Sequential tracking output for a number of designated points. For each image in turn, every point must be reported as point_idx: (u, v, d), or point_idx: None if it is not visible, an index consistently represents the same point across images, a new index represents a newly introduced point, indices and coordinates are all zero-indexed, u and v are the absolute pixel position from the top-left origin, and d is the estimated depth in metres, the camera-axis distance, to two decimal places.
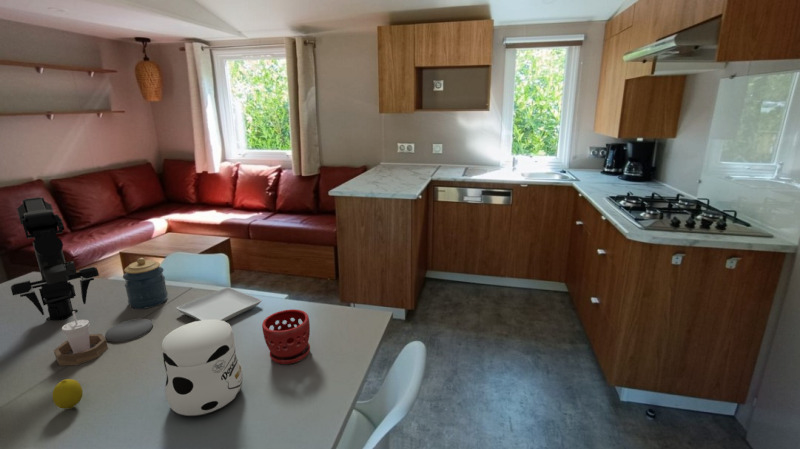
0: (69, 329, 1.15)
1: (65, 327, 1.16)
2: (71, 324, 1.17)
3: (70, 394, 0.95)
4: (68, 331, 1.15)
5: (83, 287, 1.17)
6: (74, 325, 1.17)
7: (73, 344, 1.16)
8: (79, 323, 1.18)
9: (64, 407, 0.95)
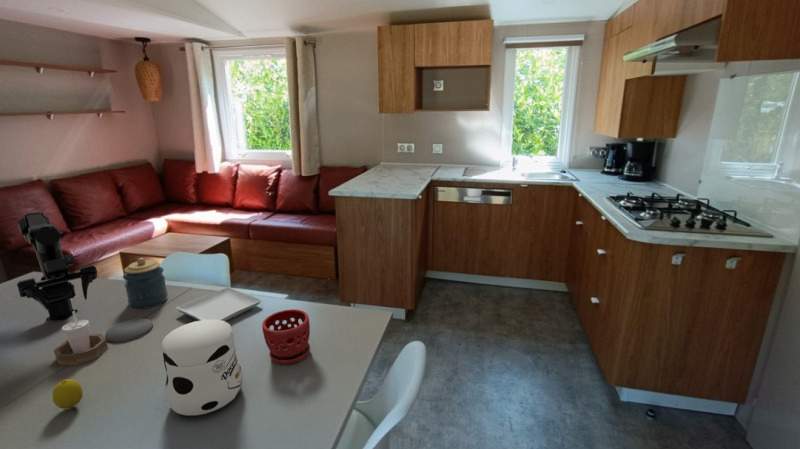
0: (69, 329, 1.15)
1: (65, 327, 1.16)
2: (71, 324, 1.17)
3: (70, 394, 0.95)
4: (68, 331, 1.15)
5: (83, 282, 1.26)
6: (74, 325, 1.17)
7: (73, 344, 1.16)
8: (79, 323, 1.18)
9: (64, 407, 0.95)
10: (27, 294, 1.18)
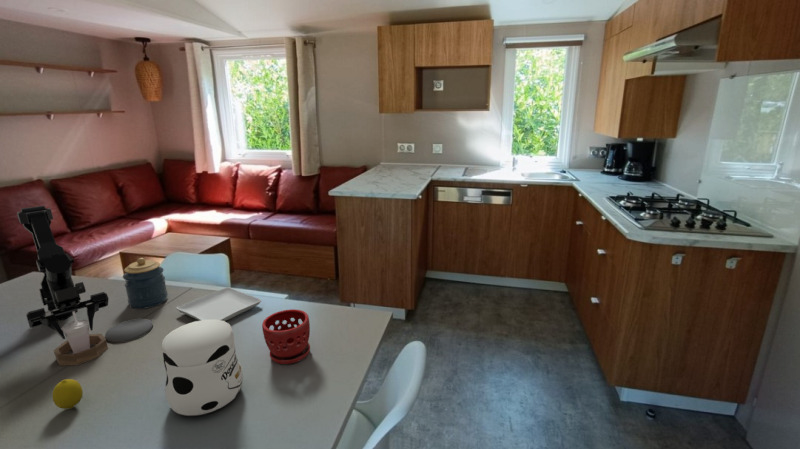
0: (69, 329, 1.15)
1: (65, 327, 1.16)
2: (71, 324, 1.17)
3: (70, 394, 0.95)
4: (68, 331, 1.15)
5: (89, 312, 1.20)
6: (74, 325, 1.17)
7: (73, 344, 1.16)
8: (79, 323, 1.18)
9: (64, 407, 0.95)
10: (43, 323, 1.15)
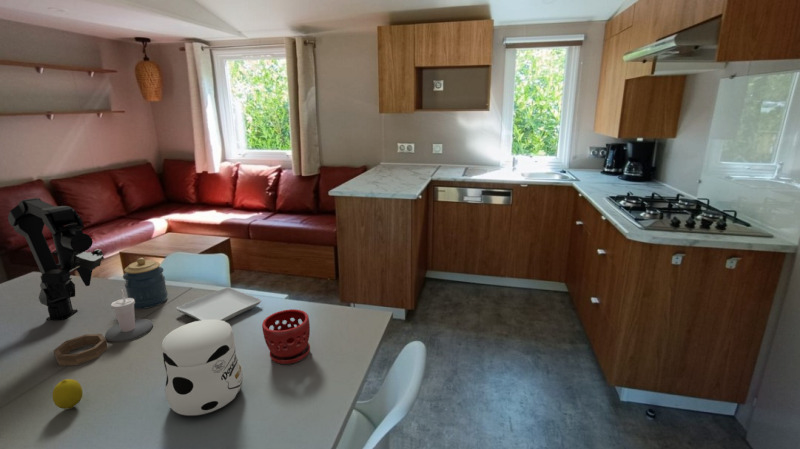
0: (122, 305, 1.27)
1: (115, 305, 1.27)
2: (118, 302, 1.28)
3: (70, 394, 0.95)
4: (122, 307, 1.27)
5: (90, 271, 1.35)
6: (123, 302, 1.28)
7: (124, 319, 1.28)
8: (126, 300, 1.30)
9: (64, 407, 0.95)
10: None
